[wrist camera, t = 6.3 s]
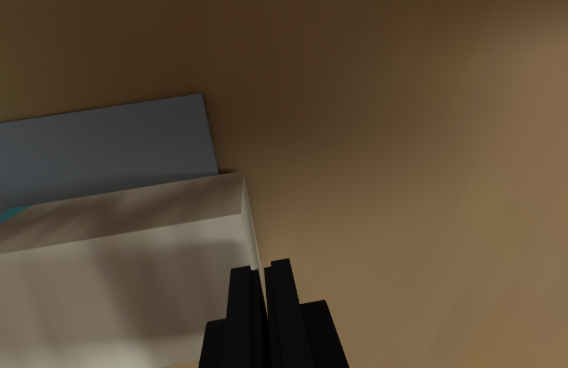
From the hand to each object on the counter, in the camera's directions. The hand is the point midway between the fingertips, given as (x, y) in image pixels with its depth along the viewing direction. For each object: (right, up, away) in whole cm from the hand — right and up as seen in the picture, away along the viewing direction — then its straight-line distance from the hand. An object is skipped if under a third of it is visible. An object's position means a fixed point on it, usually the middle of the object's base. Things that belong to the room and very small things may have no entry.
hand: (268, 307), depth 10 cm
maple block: (-1, +1, +4) cm, 4 cm away
